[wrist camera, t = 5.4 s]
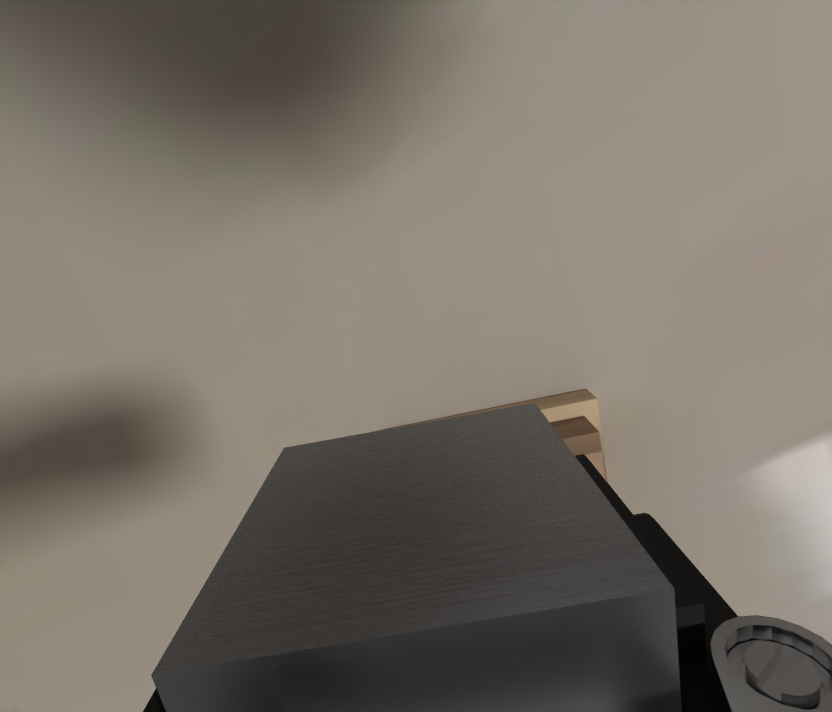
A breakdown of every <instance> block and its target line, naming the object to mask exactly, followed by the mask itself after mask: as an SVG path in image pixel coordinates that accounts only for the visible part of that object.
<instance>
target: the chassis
mask: <svg viewBox="0 0 832 712" xmlns="http://www.w3.org/2000/svg"><path fill="white" fill-rule="evenodd" d="M531 403H535V404H536V405H537V406H538V408H539V409H540V410H541V412H542V413H543V414H544V416H545V417H546V418H547V420H548V421H549V422H550V424H551V425H552V426H553V428H554V429H555V430H556V432H557V433H558V434H559V436H560V437H561V438H562V440H563V441H564V442H565V444H566V445H567V446H568V448H569V449H570V450H571V452H572V453H573V454H574V456H575V455H581V454H584V455H585V456H586V457H587V458H588V459H589V460H590V462H591V463H592V464H593V465H594V467H595V468H596V469H597V470H598V472H599V473H600V474H601V475H602V477H603V478H604V479H605V480H606V482H607V476H606V468H605V459H604V451H603V443H602V435H601V426H600V418H599V410H598V402H597V398H596V397H595V396H594V395H593V394H591V393H590V392H589V391H588V390H587V389H583V390H578V391H573V392H568V393H563V394H558V395H553V396H549V397H544V398H539V399H534V400H529V401H524V402H519V403H514V404H509V405H504V406H499V407H494V408H489V409H484V410H479V411H474V412H469V413H464V414H459V415H454V416H449V417H444V418H439V419H435V420H430V421H425V422H431V421H436V420H442V419H448V418H453V417H459V416H464V415H470V414H475V413H481V412H487V411H492V410H498V409H503V408H509V407H514V406H520V405H525V404H531ZM425 422H420V423H425ZM420 423H415V424H420ZM410 425H414V424H410ZM405 426H409V425H405ZM400 427H403V426H400ZM395 428H398V427H395ZM390 429H392V428H390ZM385 430H386V429H385Z"/></svg>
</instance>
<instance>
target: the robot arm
mask: <svg viewBox="0 0 832 712" xmlns="http://www.w3.org/2000/svg"><path fill="white" fill-rule="evenodd" d="M575 457H576V458H577V460H578V461H579V462H580V464H581V465H582V466H583V468H584V469H585V470H586V472H587V473H588V474H589V476H590V477H591V478H592V480H593V481H594V482H595V484H596V485H597V486H598V488H599V489H600V490H601V492H602V493H603V494H604V496H605V497H606V498H607V500H608V501H609V502H610V504H611V505H612V506H613V508H614V509H615V510H616V512H617V513H618V514H619V516H620V517H621V518H622V520H623V521H624V522H625V524H626V525H627V526H628V528H629V529H630V530H631V532H632V533H633V534H634V536H635V537H636V538H637V540H638V541H639V542H640V544H641V545H642V546H643V548H644V549H645V550H646V552H647V553H648V554H649V556H650V557H651V558H652V560H653V561H654V562H655V564H656V565H657V566H658V568H659V569H660V570H661V572H662V573H663V574H664V576H665V577H666V578H667V580H668V581H669V582H670V584H671V585H672V586H673V588H674V593H675V609H676V626H677V643H678V660H679V677H680V693H681V710H682V712H832V645H831V644H830V643H829V642H827V641H826V640H825V639H824V638H822V637H821V636H819V635H817V634H815V633H813V632H811V631H809V630H807V629H805V628H803V627H801V626H799V625H796V624H793V623H790V622H787V621H784V620H781V619H778V618H772V617H765V616H758V615H755V616H739V617H738V616H737V615H736V613H735V612H734V611H733V610H732V609H731V608H730V606H729V605H728V604H727V603H726V602H725V601H724V600H723V598H722V597H721V596H720V595H719V594H718V593H717V591H716V590H715V589H714V588H713V587H712V586H711V584H710V583H709V582H708V581H707V580H706V579H705V577H704V576H703V575H702V574H701V573H700V572H699V571H698V569H697V568H696V567H695V566H694V565H693V564H692V562H691V561H690V560H689V559H688V558H687V557H686V555H685V554H684V553H683V552H682V551H681V550H680V548H679V547H678V546H677V545H676V544H675V543H674V542H673V540H672V539H671V538H670V537H669V536H668V535H667V533H666V532H665V531H664V530H663V529H662V528H661V526H660V525H659V524H658V523H657V522H656V521H655V519H654V518H652V517H651V516H650V515H649V514H646V513H642V514H636V515H633V514H632V513H631V512H630V510H629V509H628V508H627V507H626V505H625V504H624V503H623V502H622V500H621V499H620V498H619V497H618V495H617V494H616V493H615V492H614V490H613V489H612V488H611V487H610V485H609V484H608V483H607V482H606V480H605V479H604V478H603V477H602V475H601V474H600V473H599V472H598V470H597V469H596V468H595V467H594V465H593V464H592V463H591V462H590V460H589V459H588V458H587V457H586V456H585V455H584V454H581V455H575ZM143 712H166V710H165V708H164V705H163V703H162V700H161V698H160V695H159V693H158V690H157V688H156V690H155V691H154V693H153V695H152V697H151V699H150V700H149V702H148V704H147V706H146V708H145V709H144V711H143Z"/></svg>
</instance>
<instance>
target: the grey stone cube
mask: <svg viewBox="0 0 832 712" xmlns="http://www.w3.org/2000/svg"><path fill="white" fill-rule="evenodd" d="M151 676H152V678H153V681H154V683H155V686H156V688H157V690H158V693H159V695H160V698H161V700H162V703H163V705H164V708H165V710H166V712H682V710H681V693H680V677H679V660H678V643H677V626H676V609H675V593H674V588H673V586H672V585H671V584H670V582H669V581H668V580H667V578H666V577H665V576H664V574H663V573H662V572H661V570H660V569H659V568H658V566H657V565H656V564H655V562H654V561H653V560H652V558H651V557H650V556H649V554H648V553H647V552H646V550H645V549H644V548H643V546H642V545H641V544H640V542H639V541H638V540H637V538H636V537H635V536H634V534H633V533H632V532H631V530H630V529H629V528H628V526H627V525H626V524H625V522H624V521H623V520H622V518H621V517H620V516H619V514H618V513H617V512H616V510H615V509H614V508H613V506H612V505H611V504H610V502H609V501H608V500H607V498H606V497H605V496H604V494H603V493H602V492H601V490H600V489H599V488H598V486H597V485H596V484H595V482H594V481H593V480H592V478H591V477H590V476H589V474H588V473H587V472H586V470H585V469H584V468H583V466H582V465H581V464H580V462H579V461H578V460H577V458H576V457H575V456H574V454H573V453H572V452H571V450H570V449H569V448H568V446H567V445H566V444H565V442H564V441H563V440H562V438H561V437H560V436H559V434H558V433H557V432H556V430H555V429H554V428H553V426H552V425H551V424H550V422H549V421H548V420H547V418H546V417H545V416H544V414H543V413H542V412H541V410H540V409H539V408H538V406H537V405H536V404H535V403H531V404H525V405H520V406H514V407H509V408H503V409H498V410H492V411H487V412H481V413H475V414H470V415H464V416H459V417H453V418H448V419H442V420H436V421H431V422H425V423H420V424H414V425H409V426H403V427H398V428H392V429H386V430H381V431H375V432H370V433H364V434H359V435H353V436H347V437H342V438H336V439H331V440H325V441H320V442H314V443H308V444H303V445H297V446H292V447H286V448H284V449H283V451H282V452H281V454H280V456H279V457H278V459H277V461H276V463H275V464H274V466H273V468H272V469H271V471H270V473H269V475H268V476H267V478H266V480H265V481H264V483H263V485H262V487H261V488H260V490H259V492H258V493H257V495H256V497H255V499H254V500H253V502H252V504H251V505H250V507H249V509H248V511H247V512H246V514H245V516H244V517H243V519H242V521H241V523H240V524H239V526H238V528H237V529H236V531H235V533H234V535H233V536H232V538H231V540H230V541H229V543H228V545H227V547H226V548H225V550H224V552H223V553H222V555H221V557H220V559H219V560H218V562H217V564H216V565H215V567H214V569H213V571H212V572H211V574H210V576H209V577H208V579H207V581H206V582H205V584H204V586H203V588H202V589H201V591H200V593H199V594H198V596H197V598H196V600H195V601H194V603H193V605H192V606H191V608H190V610H189V612H188V613H187V615H186V617H185V618H184V620H183V622H182V624H181V625H180V627H179V629H178V630H177V632H176V634H175V636H174V637H173V639H172V641H171V642H170V644H169V646H168V648H167V649H166V651H165V653H164V654H163V656H162V658H161V660H160V661H159V663H158V665H157V666H156V668H155V670H154V672H153V673H152V675H151Z"/></svg>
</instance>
